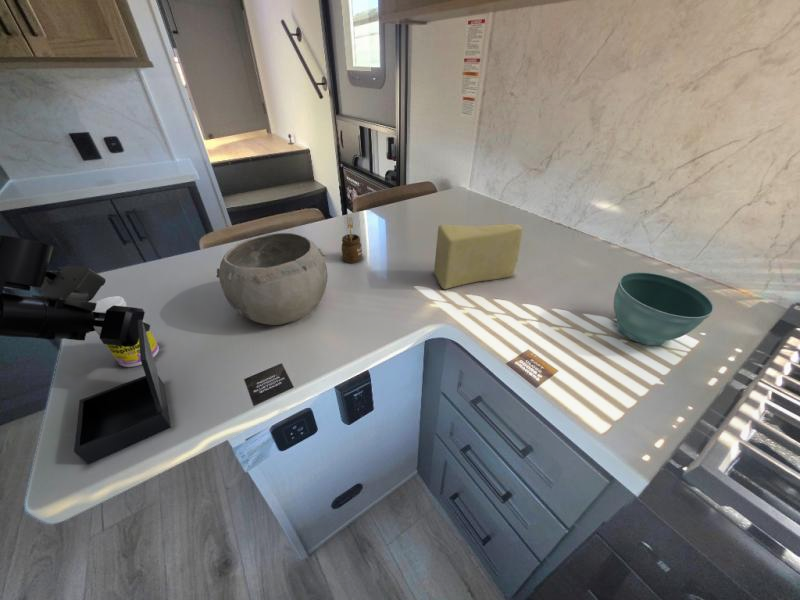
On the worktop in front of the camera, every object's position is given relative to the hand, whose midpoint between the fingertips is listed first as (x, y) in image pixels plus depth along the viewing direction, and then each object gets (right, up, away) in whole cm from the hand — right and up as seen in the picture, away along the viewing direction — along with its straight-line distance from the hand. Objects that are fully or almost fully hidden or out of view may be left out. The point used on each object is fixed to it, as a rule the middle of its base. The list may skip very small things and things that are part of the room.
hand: (130, 325), depth 59 cm
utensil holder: (+36, +17, +37) cm, 55 cm away
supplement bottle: (0, -6, +3) cm, 7 cm away
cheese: (+72, +11, +29) cm, 78 cm away
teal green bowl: (+105, -2, +12) cm, 106 cm away
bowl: (+23, +4, +18) cm, 29 cm away
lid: (+12, -5, -11) cm, 17 cm away
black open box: (+7, -15, -9) cm, 19 cm away
